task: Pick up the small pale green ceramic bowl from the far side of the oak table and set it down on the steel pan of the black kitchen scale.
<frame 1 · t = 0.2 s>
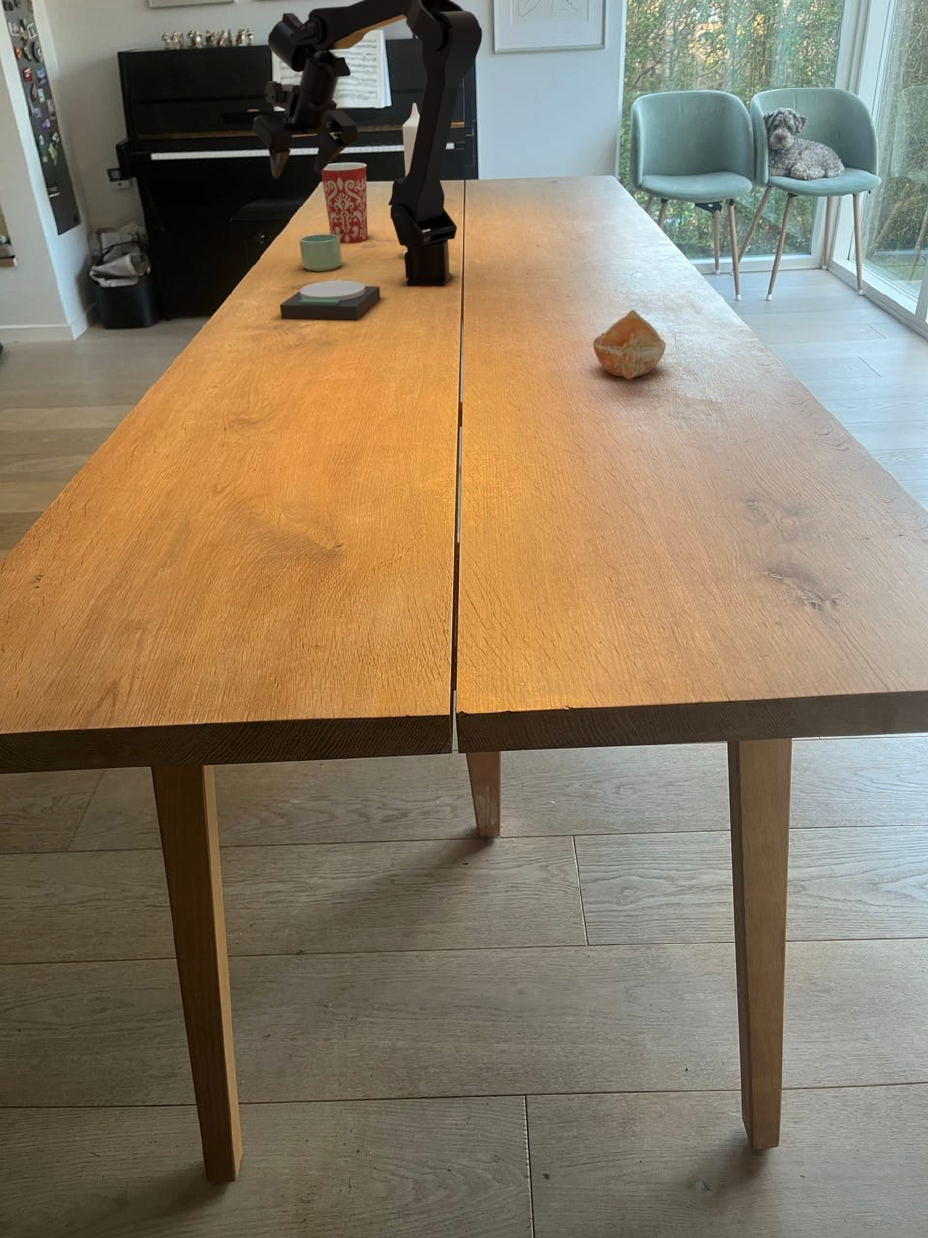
hand: (296, 174, 174), 15 cm above the table, tool tilted 30°, fingers open, 9 cm apart
mug: (351, 238, 198), on the table
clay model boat: (627, 370, 122), on the table
scale: (332, 308, 152), on the table
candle: (423, 256, 181), on the table
bowl: (322, 267, 176), on the table
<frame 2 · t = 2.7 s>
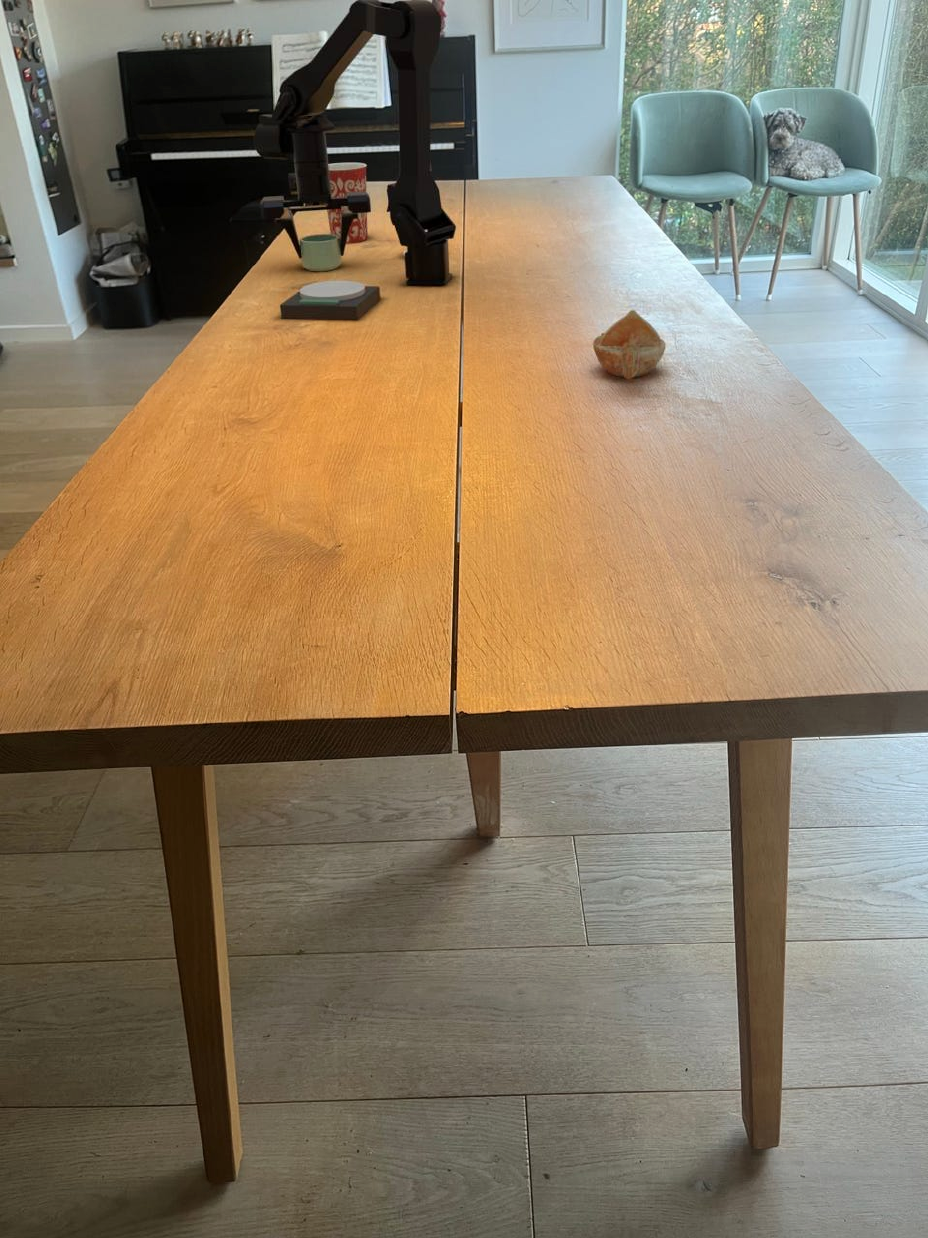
hand: (321, 256, 175), 2 cm above the table, tool pointing down, fingers closed on bowl, 7 cm apart
bowl: (322, 267, 176), on the table, touching gripper
everything else where it was.
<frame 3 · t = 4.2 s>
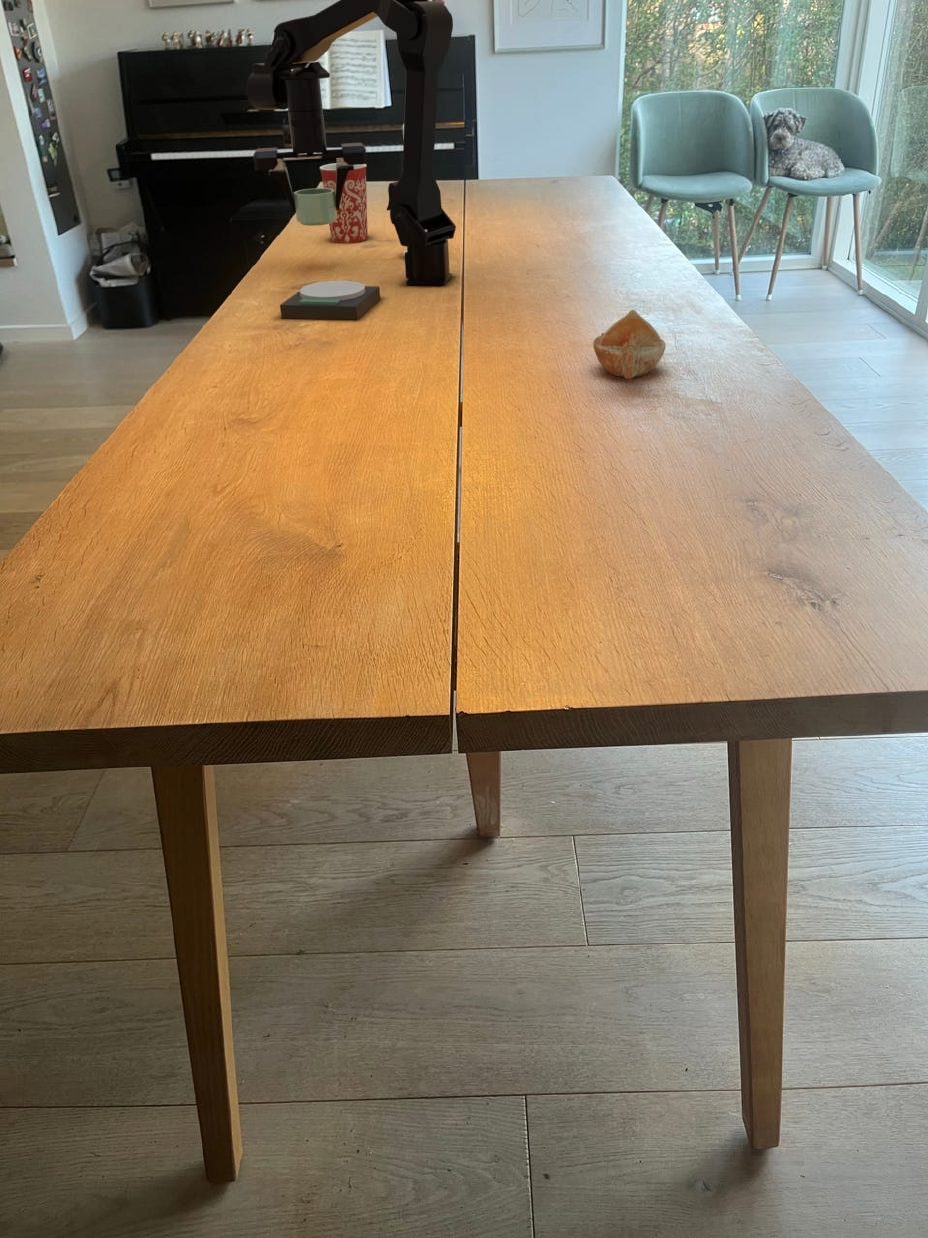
hand: (316, 210, 171), 10 cm above the table, tool pointing down, fingers closed on bowl, 7 cm apart
bowl: (317, 222, 172), point 8 cm above the table, touching gripper
everything else where it was.
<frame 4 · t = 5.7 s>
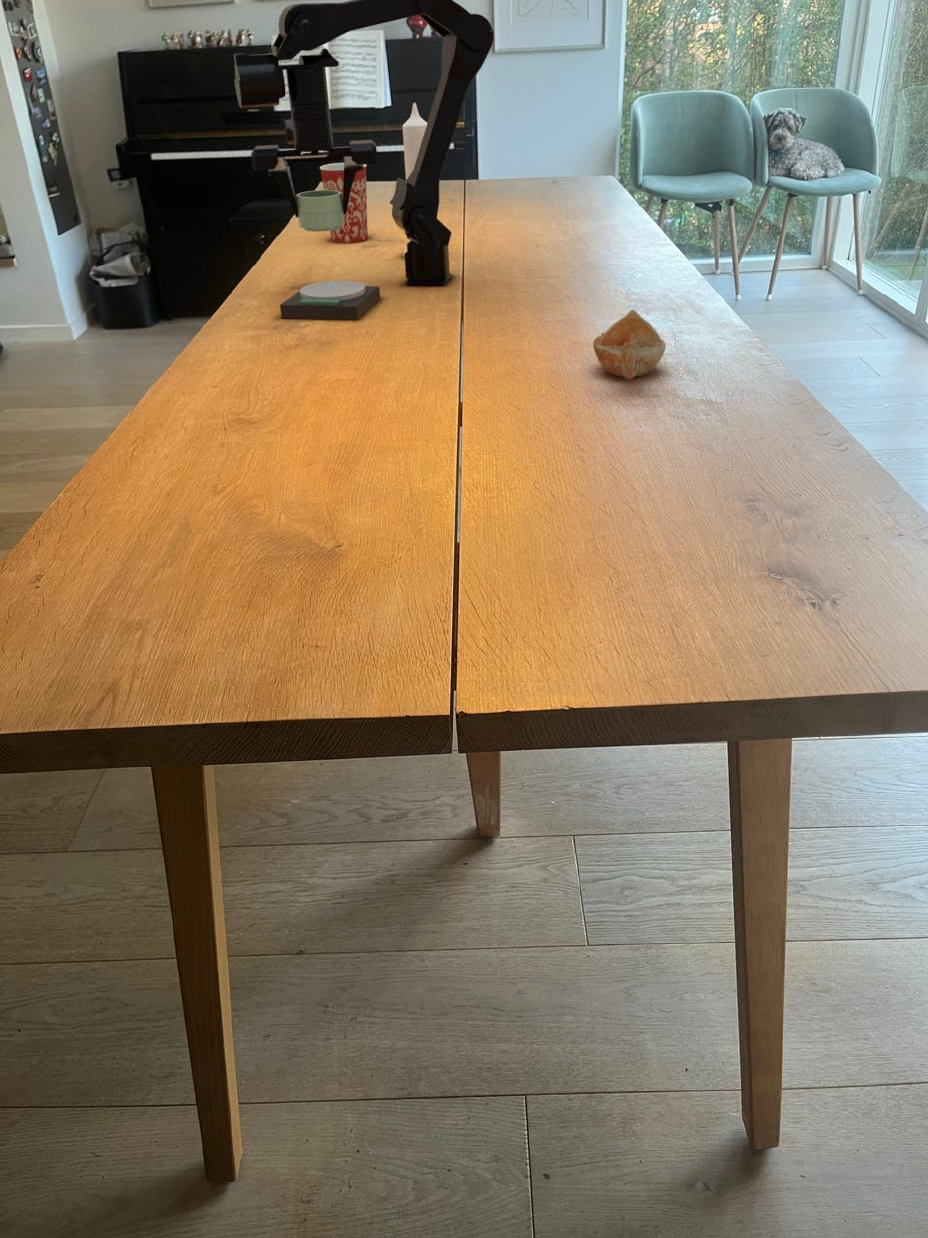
hand: (321, 215, 154), 12 cm above the table, tool pointing down, fingers closed on bowl, 7 cm apart
bowl: (322, 227, 155), point 10 cm above the table, touching gripper
everything else where it was.
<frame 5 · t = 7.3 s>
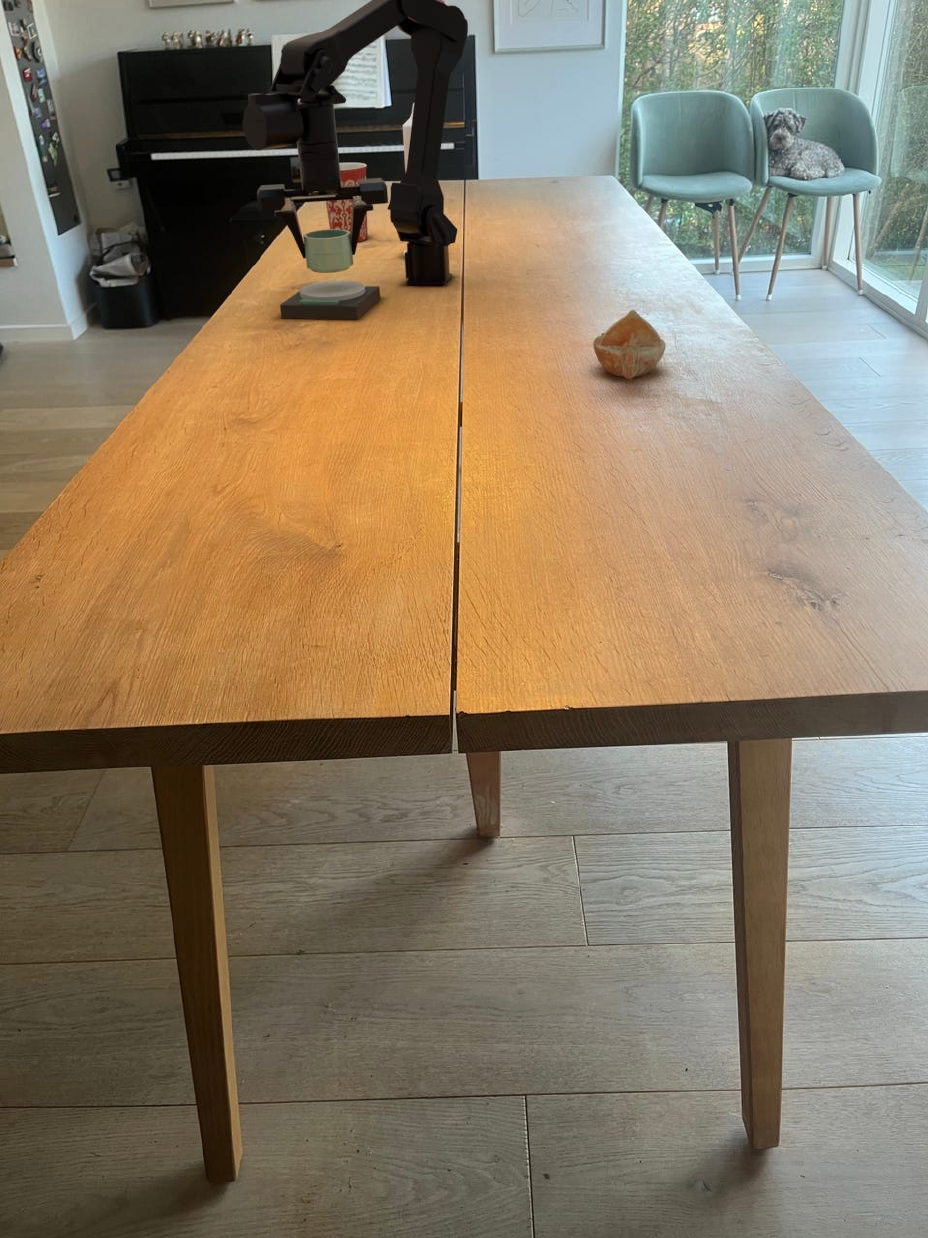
hand: (329, 255, 149), 8 cm above the table, tool pointing down, fingers closed on bowl, 7 cm apart
bowl: (330, 268, 150), point 6 cm above the table, touching gripper
everything else where it was.
when the fingers open (5 cm above the table, at t = 8.7 s): bowl stays where it is, resting on scale.
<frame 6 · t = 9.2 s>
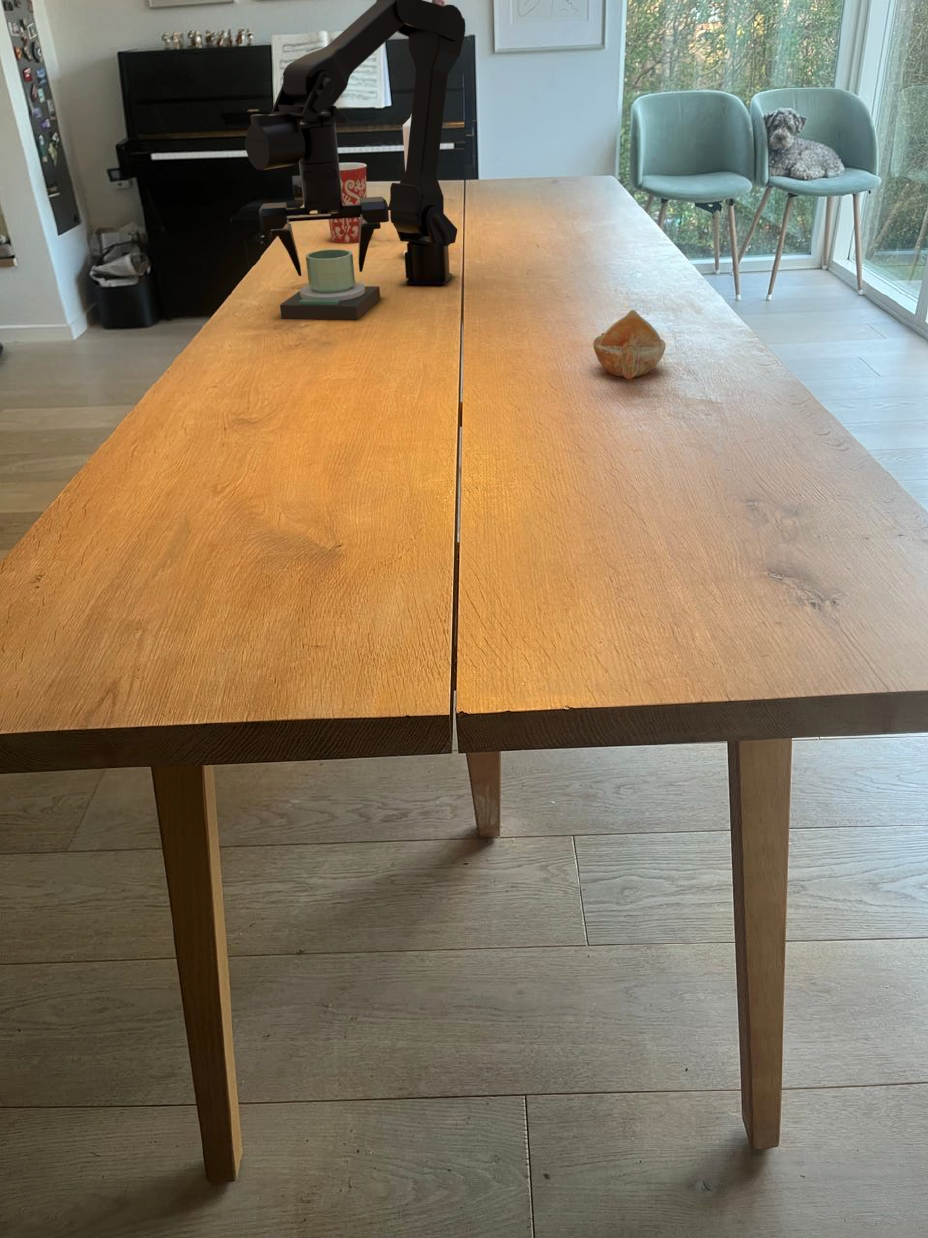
hand: (330, 273, 150), 5 cm above the table, tool pointing down, fingers open, 9 cm apart
bowl: (332, 288, 151), point 3 cm above the table, touching scale
everything else where it was.
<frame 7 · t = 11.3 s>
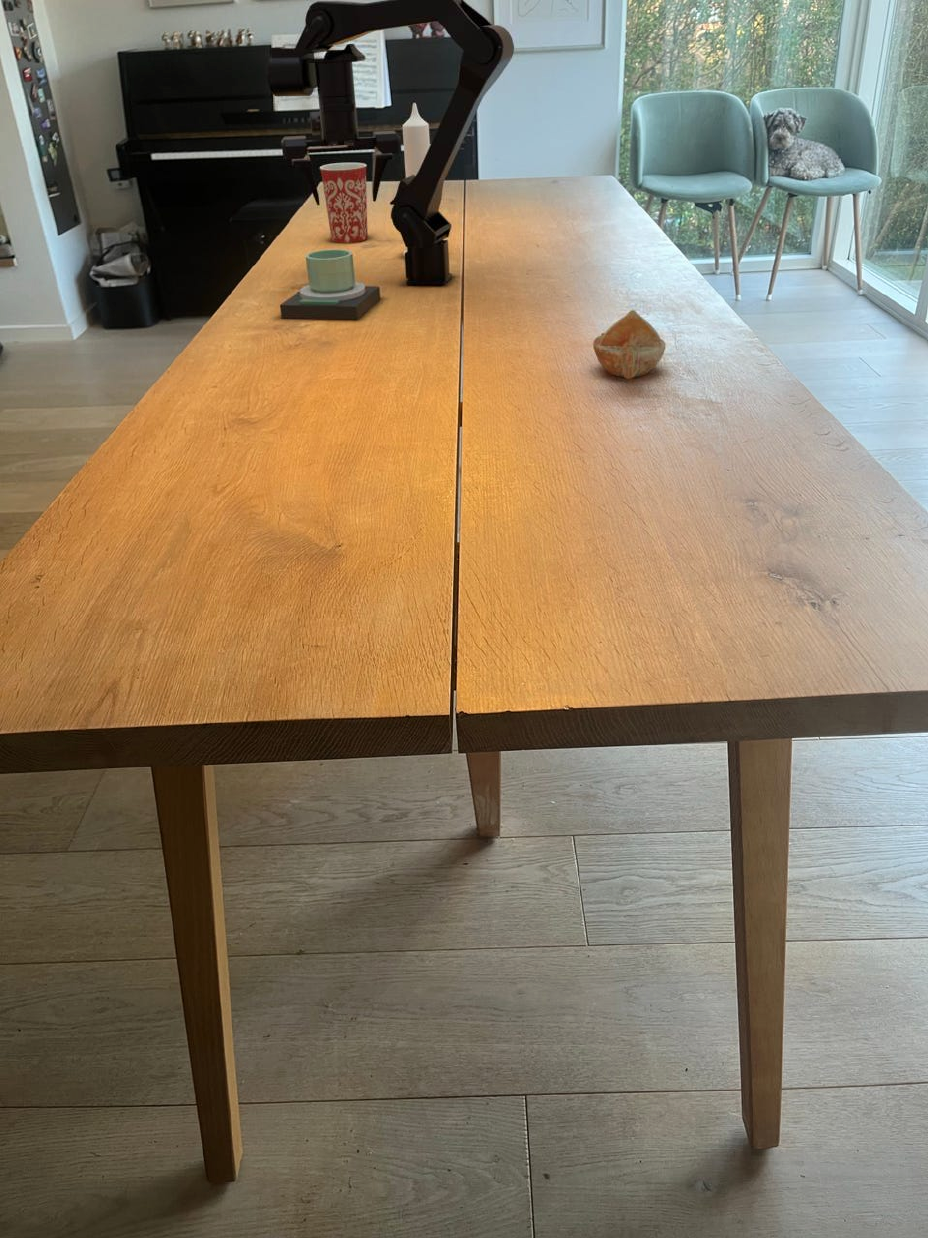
hand: (346, 202, 162), 12 cm above the table, tool pointing down, fingers open, 9 cm apart
nothing on the table moved.
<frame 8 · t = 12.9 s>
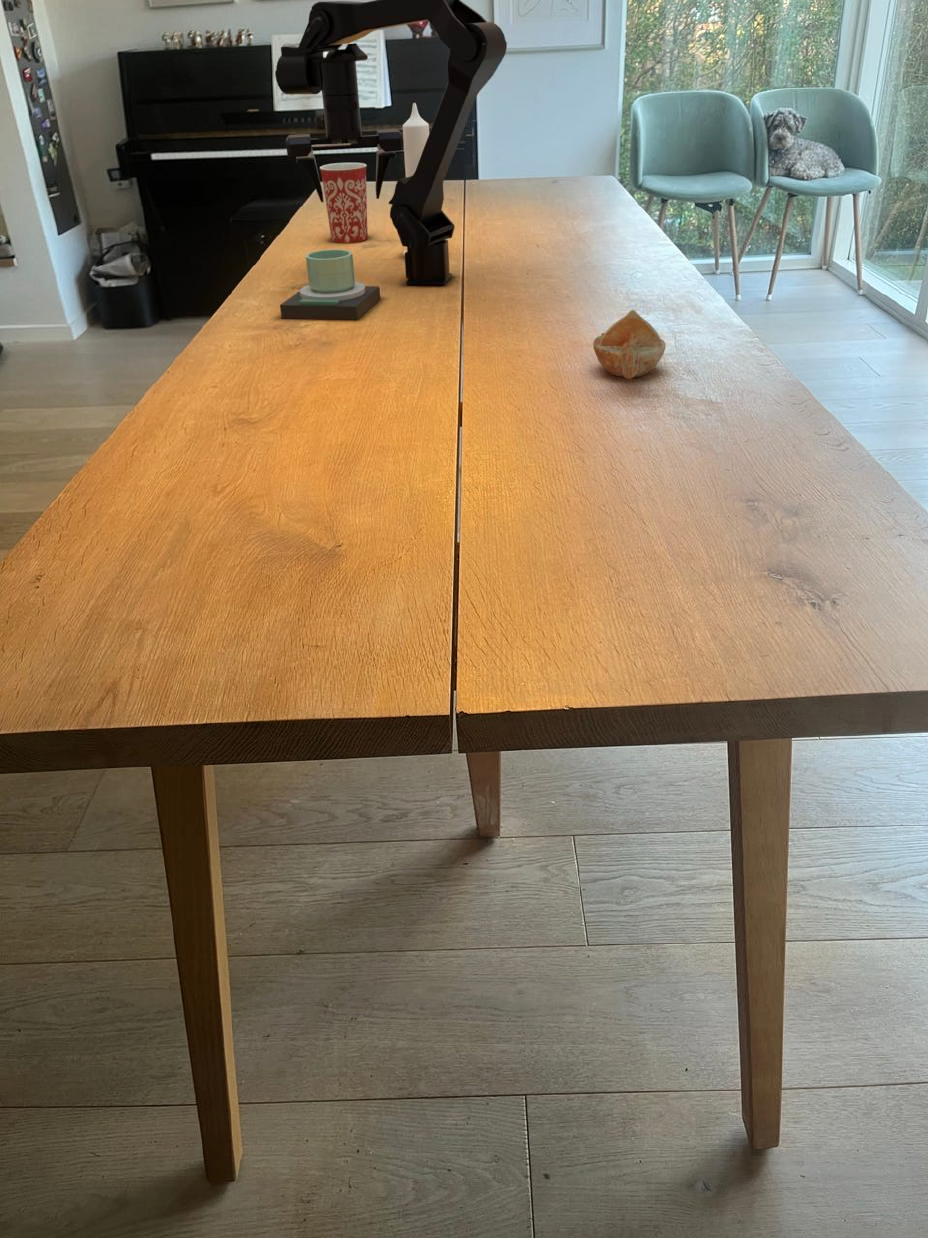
hand: (350, 200, 164), 12 cm above the table, tool pointing down, fingers open, 9 cm apart
nothing on the table moved.
at the end: bowl inside the target area on the scale (0.1 cm from its centre), point 2.8 cm above the scale's base; bowl tilted 0°; the gripper is holding nothing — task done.
